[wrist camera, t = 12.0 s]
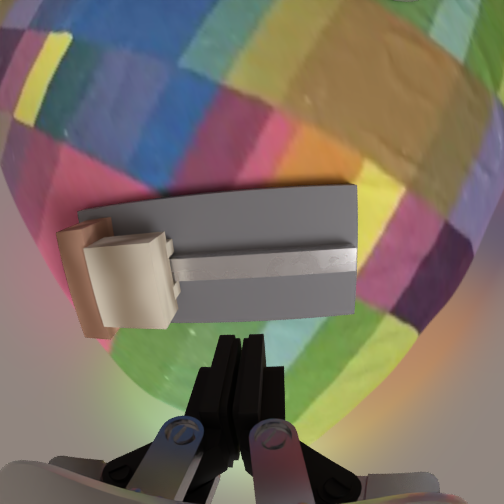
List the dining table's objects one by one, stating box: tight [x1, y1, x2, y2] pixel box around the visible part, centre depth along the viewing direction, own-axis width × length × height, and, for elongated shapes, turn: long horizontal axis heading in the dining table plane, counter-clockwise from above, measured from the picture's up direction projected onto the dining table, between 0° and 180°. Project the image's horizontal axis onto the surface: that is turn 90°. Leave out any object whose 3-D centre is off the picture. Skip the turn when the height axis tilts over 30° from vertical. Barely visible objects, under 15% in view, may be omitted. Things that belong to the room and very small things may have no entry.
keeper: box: [83, 232, 181, 329], centre depth 24 cm, size 6×7×5 cm
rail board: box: [56, 184, 358, 340], centre depth 24 cm, size 26×12×6 cm, turn 95°
